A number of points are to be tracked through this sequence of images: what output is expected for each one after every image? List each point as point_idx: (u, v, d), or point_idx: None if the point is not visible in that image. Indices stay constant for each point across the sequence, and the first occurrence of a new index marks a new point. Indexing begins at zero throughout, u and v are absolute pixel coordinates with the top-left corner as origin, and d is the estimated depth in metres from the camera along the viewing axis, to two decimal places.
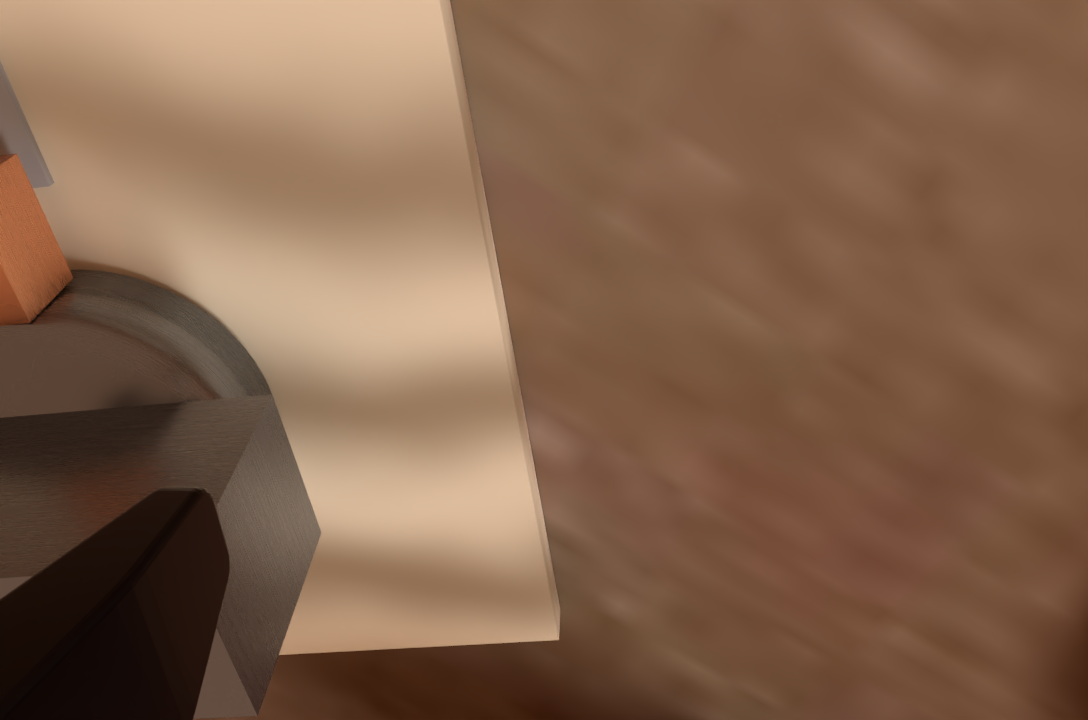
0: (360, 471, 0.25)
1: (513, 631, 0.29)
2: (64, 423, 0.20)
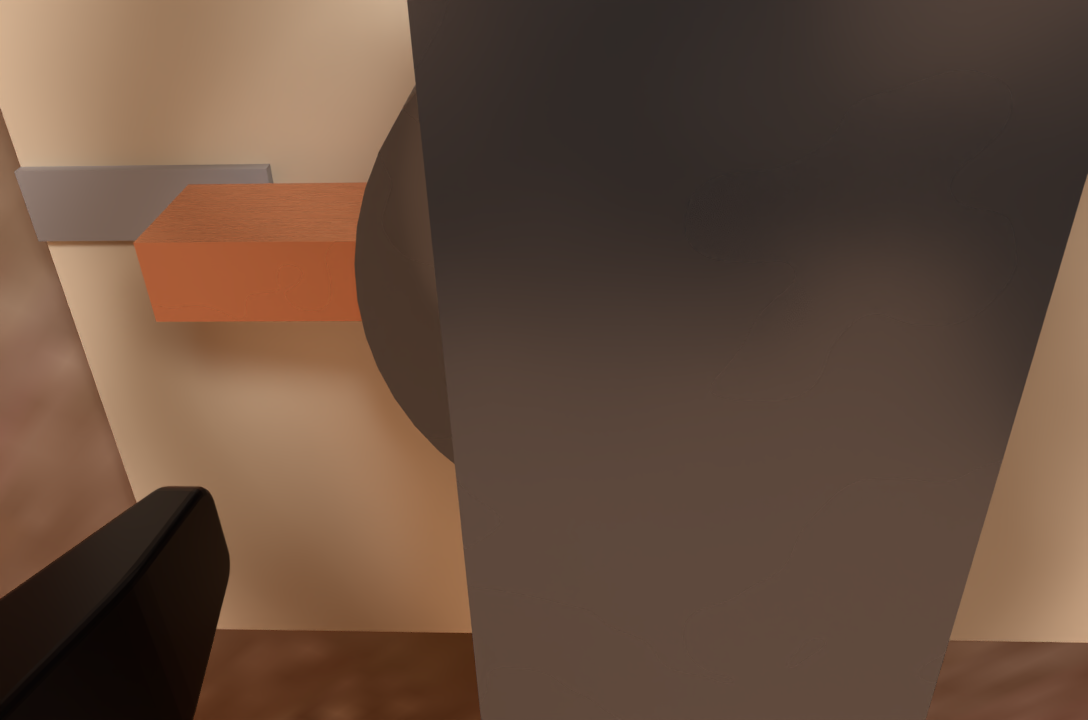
0: None
1: None
2: None
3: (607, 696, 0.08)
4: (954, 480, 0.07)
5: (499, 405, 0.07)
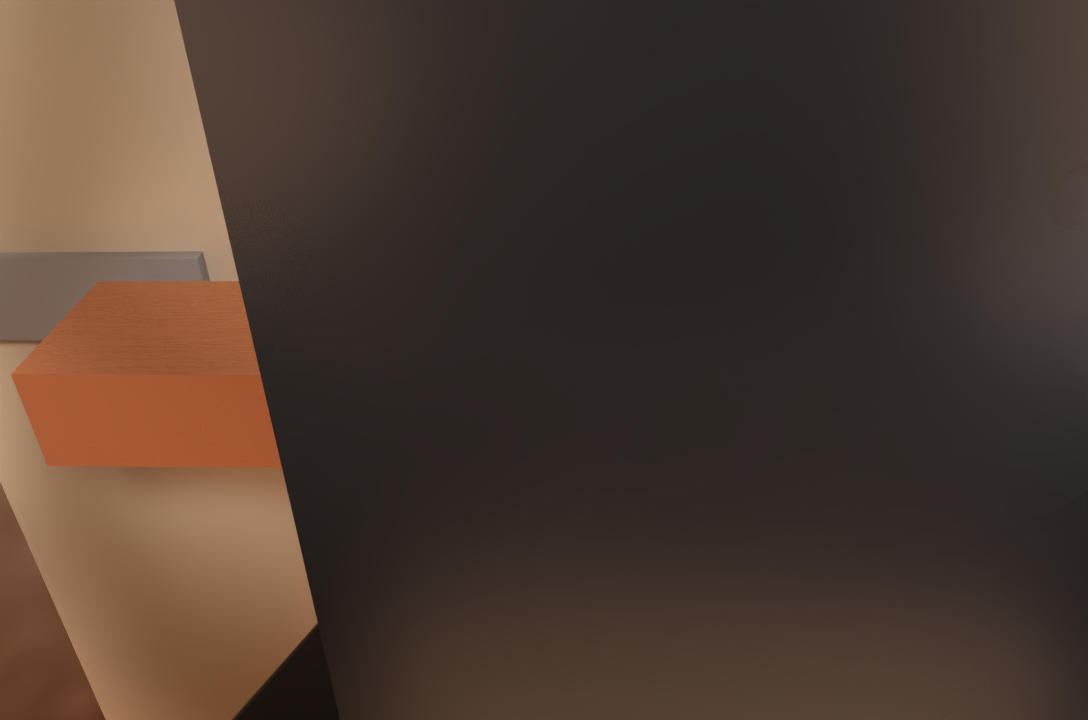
0: None
1: None
2: None
3: None
4: None
5: None
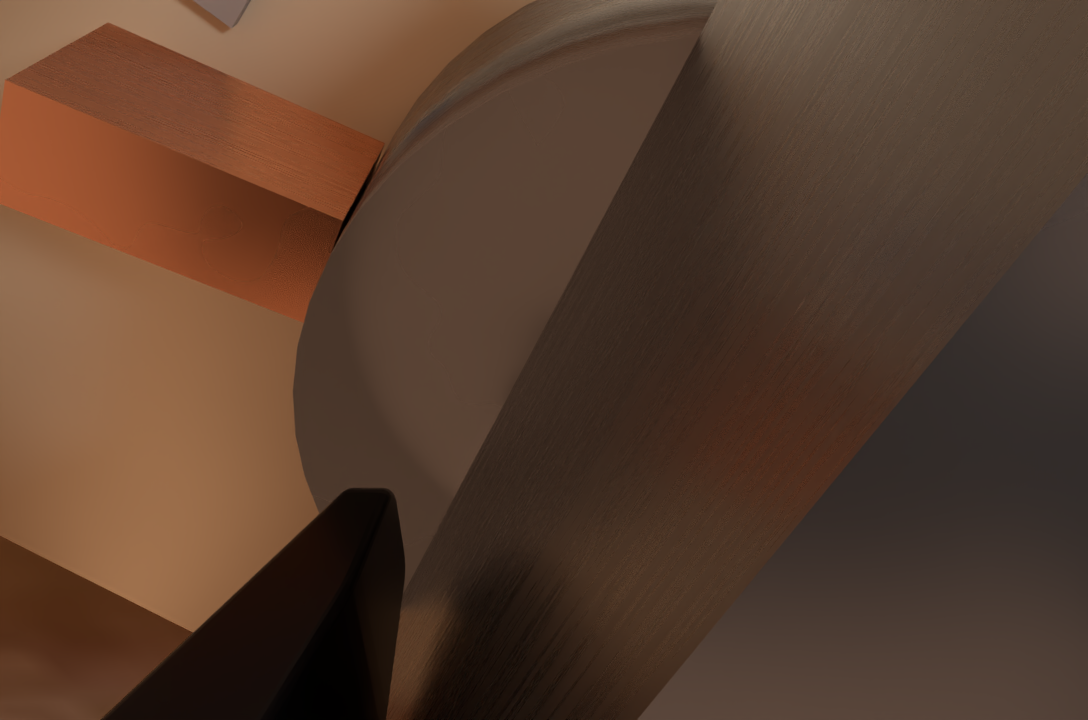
0: None
1: None
2: (557, 323, 0.08)
3: None
4: None
5: None
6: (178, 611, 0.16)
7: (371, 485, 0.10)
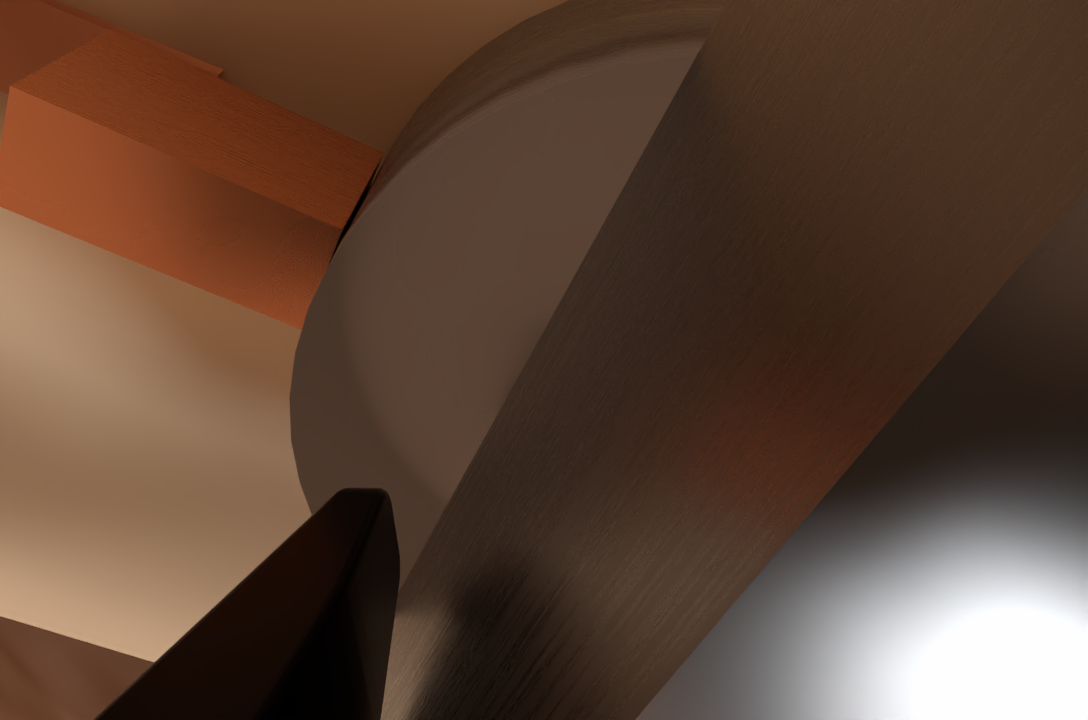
0: None
1: None
2: (553, 334, 0.08)
3: None
4: None
5: None
6: None
7: None
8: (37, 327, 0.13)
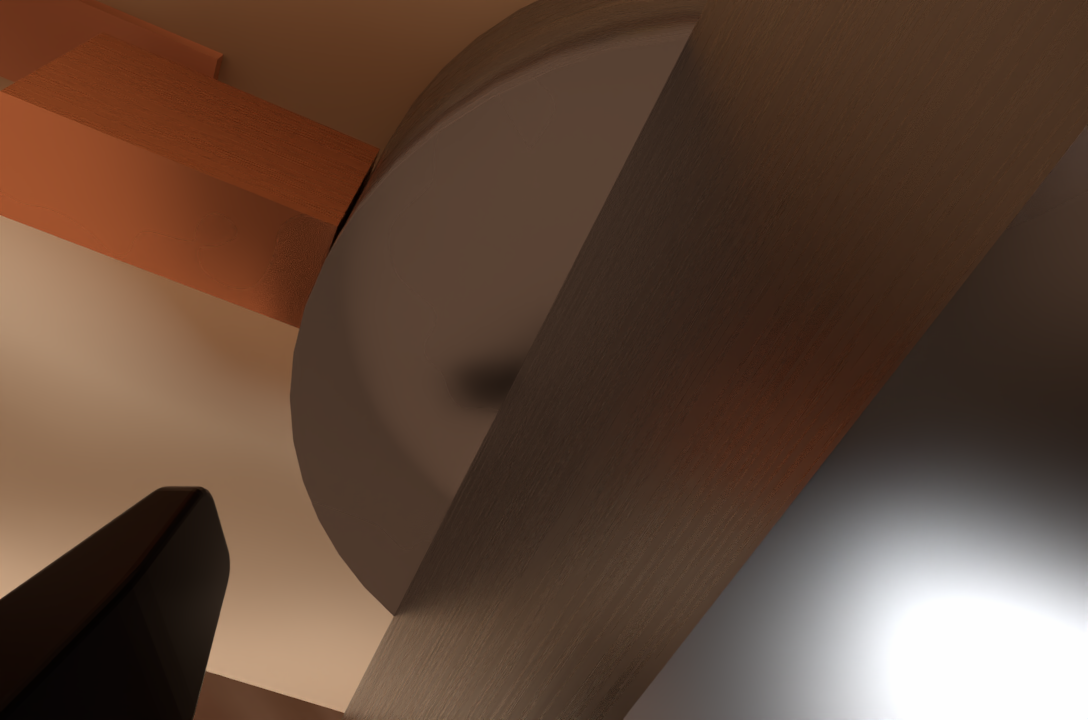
0: None
1: None
2: (551, 327, 0.08)
3: None
4: None
5: None
6: None
7: (369, 490, 0.10)
8: (34, 316, 0.13)
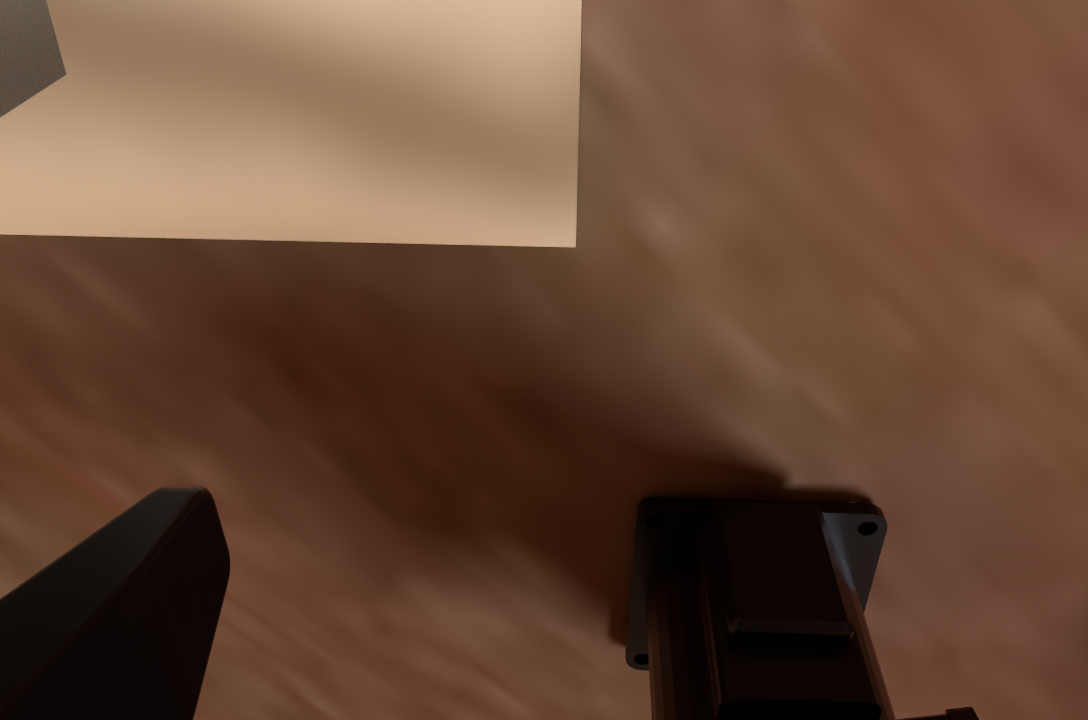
0: None
1: (511, 224, 0.20)
2: None
3: None
4: None
5: None
6: None
7: None
8: None
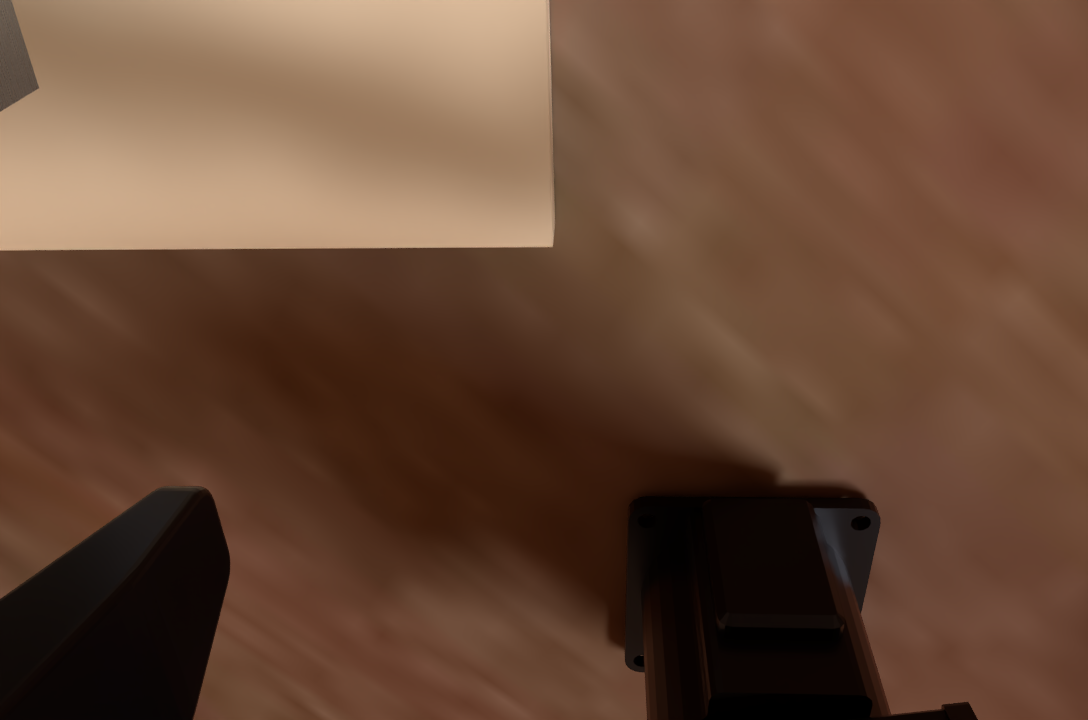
0: None
1: (488, 226, 0.20)
2: None
3: None
4: None
5: None
6: None
7: None
8: None
